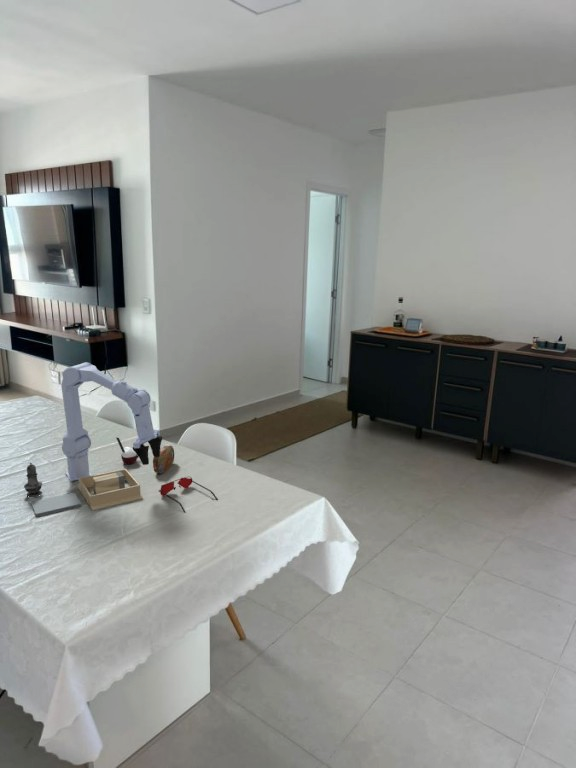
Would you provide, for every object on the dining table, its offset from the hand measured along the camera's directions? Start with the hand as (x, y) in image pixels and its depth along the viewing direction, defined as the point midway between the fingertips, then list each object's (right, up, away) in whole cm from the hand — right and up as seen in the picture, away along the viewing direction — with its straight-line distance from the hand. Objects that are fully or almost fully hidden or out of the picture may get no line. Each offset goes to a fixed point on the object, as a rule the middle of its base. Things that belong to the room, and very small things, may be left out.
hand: (151, 460), depth 191 cm
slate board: (-29, -13, -12) cm, 34 cm away
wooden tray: (-15, -11, -2) cm, 18 cm away
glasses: (+14, -13, -5) cm, 20 cm away
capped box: (-15, -11, -2) cm, 18 cm away
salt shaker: (-40, -12, -4) cm, 42 cm away
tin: (0, -6, +19) cm, 20 cm away
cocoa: (-15, -5, +24) cm, 29 cm away
